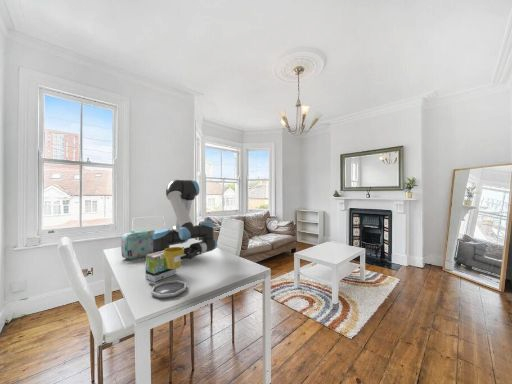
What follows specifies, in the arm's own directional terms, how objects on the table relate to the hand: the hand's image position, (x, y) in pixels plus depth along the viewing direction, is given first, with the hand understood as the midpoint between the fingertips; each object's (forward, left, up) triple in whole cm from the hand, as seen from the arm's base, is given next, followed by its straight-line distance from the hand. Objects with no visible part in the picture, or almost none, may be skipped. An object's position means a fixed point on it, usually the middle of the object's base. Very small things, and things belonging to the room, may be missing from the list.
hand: (167, 258), depth 114 cm
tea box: (-22, +13, -19) cm, 31 cm away
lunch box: (-72, +31, -19) cm, 80 cm away
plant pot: (0, +4, -6) cm, 7 cm away
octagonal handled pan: (-5, +2, -18) cm, 19 cm away
